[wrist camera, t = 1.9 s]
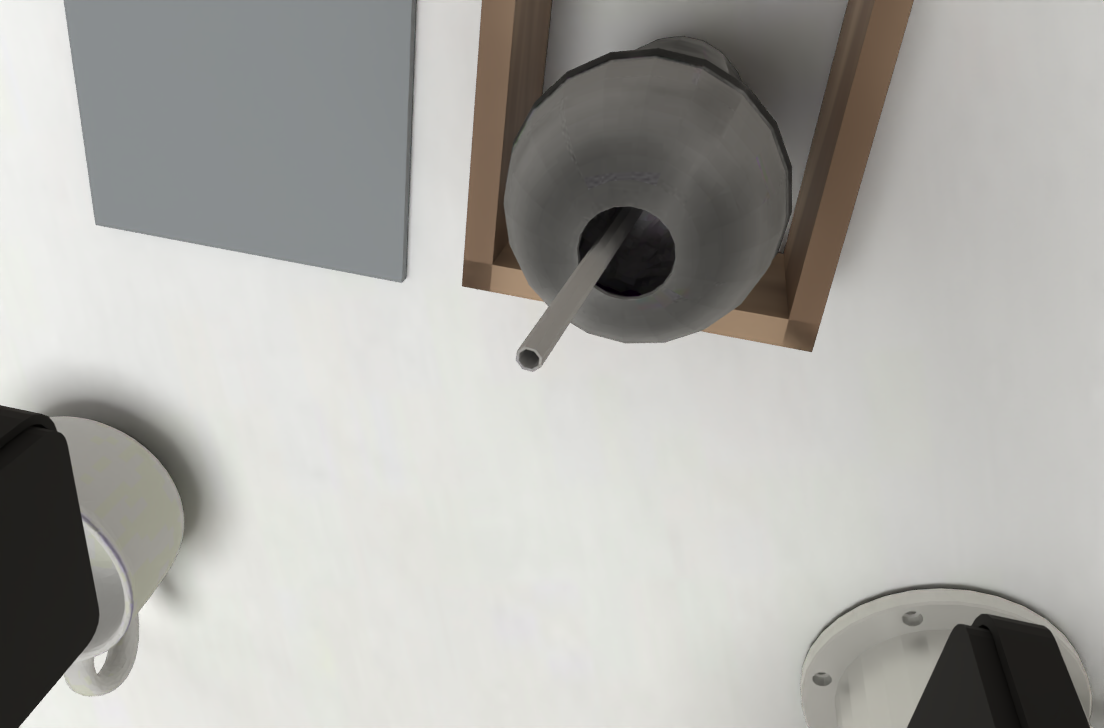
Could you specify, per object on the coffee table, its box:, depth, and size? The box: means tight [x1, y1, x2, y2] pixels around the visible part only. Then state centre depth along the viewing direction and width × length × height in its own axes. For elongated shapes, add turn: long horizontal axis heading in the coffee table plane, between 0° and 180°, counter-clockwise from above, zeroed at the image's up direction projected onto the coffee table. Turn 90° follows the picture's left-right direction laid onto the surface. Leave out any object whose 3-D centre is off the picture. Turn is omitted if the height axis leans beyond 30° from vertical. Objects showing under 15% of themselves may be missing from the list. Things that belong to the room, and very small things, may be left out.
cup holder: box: [462, 0, 914, 352], centre depth 31 cm, size 12×11×6 cm
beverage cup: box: [504, 36, 792, 372], centre depth 24 cm, size 7×7×20 cm
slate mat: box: [64, 0, 416, 283], centre depth 36 cm, size 14×14×1 cm
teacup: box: [49, 416, 184, 696], centre depth 45 cm, size 14×11×8 cm
